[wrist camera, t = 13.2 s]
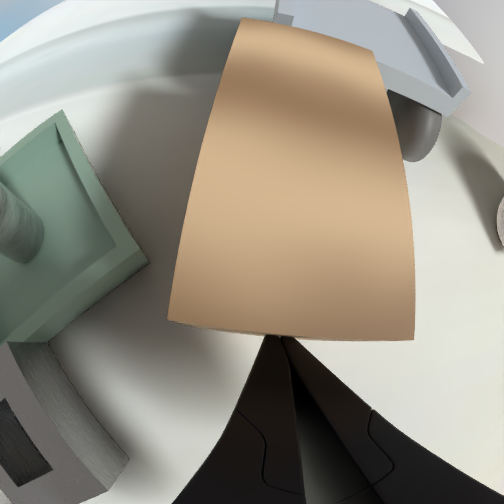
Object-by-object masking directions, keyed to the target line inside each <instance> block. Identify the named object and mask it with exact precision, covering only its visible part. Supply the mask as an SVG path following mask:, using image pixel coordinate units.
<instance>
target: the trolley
mask: <svg viewBox="0 0 504 504" xmlns="http://www.w3.org/2000/svg"><path fill="white" fill-rule="evenodd" d="M273 23H278V24H283V25H288V26H293V27H297V28H301V29H305V30H309V31H313V32H317V33H320V34H324V35H327V36H331V37H334V38H337V39H341V40H344V41H347V42H350V43H353V44H355V45H358V46H361V47H364V48H366V49H369V50H372V51H373V54H374V56H375V59H376V62H377V65H378V68H379V71H380V74H381V77H382V80H383V83H384V86H385V88H387V89H388V91H387V92H386V93H387V96H388V100H389V103H390V107H391V111H392V114H393V118H394V122H395V126H396V131H397V135H398V139H399V144H400V149H401V154H402V159H403V160H406V161H409V162H417V161H419V160H421V159H423V158H424V157H425V156H426V155H427V154H428V153H429V152H430V151H431V149H432V148H433V146H434V144H435V142H436V140H437V138H438V135H439V132H440V127H441V114H443V115H445V116H447V117H449V116H450V115H451V113H452V112H453V111H454V110H455V109H456V108H457V107H458V106H459V105H460V104H461V103H462V102H463V101H464V100H465V99H466V97H468V96H469V95H470V93H471V91H470V89H469V87H468V85H467V84H466V82H465V80H464V78H463V77H462V75H461V73H460V71H459V70H458V68H457V67H456V65H455V63H454V62H453V60H452V59H451V57H450V56H449V54H448V52H447V51H446V49H445V48H444V47H443V45H442V44H441V42H440V41H439V39H438V38H437V37H436V35H435V34H434V32H433V31H432V30H431V28H430V27H429V26H428V25H427V23H426V22H425V21H424V19H423V18H422V17H421V16H420V14H419V13H418V12H417V11H415V10H413V9H411V8H409V10H408V12H407V14H406V15H405V17H404V16H402V15H400V14H398V13H396V12H394V11H392V10H390V9H387V8H385V7H383V6H381V5H378V4H376V3H373V2H371V1H368V0H276V5H275V11H274V17H273Z"/></svg>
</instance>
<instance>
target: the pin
mask: <svg viewBox="0 0 504 504" xmlns="http://www.w3.org/2000/svg"><path fill="white" fill-rule="evenodd" d="M43 239H44V225H43V222H42V220H41V219H40V217H38V216H37V215H36V214H35V213H34V212H33V211H32V210H30V209H29V208H28V207H27V206H26V205H25V204H24V203H23V202H22V201H20V200H19V199H18V198H17V197H16V196H15V195H14V194H13V193H12V192H11V191H10V190H9V189H8V188H6V187H5V186H4V185H3V184H2V183H1V182H0V254H1V255H3V256H5V257H7V258H9V259H11V260H12V261H14V262H16V263H19V264H23V263H27V262H29V261H30V260H32V259H33V258H34V257H35V256H36V254H37V253H38V251H39V250H40V248H41V245H42V243H43Z"/></svg>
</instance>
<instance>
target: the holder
mask: <svg viewBox="0 0 504 504" xmlns="http://www.w3.org/2000/svg"><path fill="white" fill-rule="evenodd" d="M13 412H14V414H15V415H16V417H17V419H18V420H19V422H20V423H21V425H22V427H23V428H24V430H25V431H26V433H27V434H28V436H29V437H30V439H31V440H32V442H33V443H34V444H35V446H36V447H37V449H38V450H39V451H40V453H41V454H42V455H43V457H44V458H45V459H46V461H47V462H48V463H49V464H50V465H48V464H47V463H46V461H45V460H44V459H43V457H42V456H41V455H40V453H39V452H38V451H37V449H36V448H35V447H34V445H33V444H32V442H31V441H30V439H29V438H28V437H27V435H26V434H25V432H24V431H23V429H22V427H21V426H20V424H19V423H18V421H17V419H16V418H15V416H14V415H13ZM128 461H129V458H128V457H127V455H126V454H125V453H124V452H123V451H122V450H121V449H120V448H119V446H118V445H117V444H116V443H115V442H114V441H113V439H112V438H111V437H110V436H109V435H108V433H107V432H106V431H105V430H104V428H103V427H102V426H101V425H100V423H99V422H98V421H97V420H96V418H95V417H94V416H93V414H92V413H91V412H90V410H89V409H88V407H87V406H86V405H85V403H84V402H83V400H82V399H81V397H80V396H79V395H78V393H77V392H76V390H75V389H74V387H73V386H72V384H71V382H70V381H69V379H68V378H67V376H66V375H65V373H64V371H63V370H62V368H61V366H60V365H59V363H58V361H57V359H56V358H55V356H54V354H53V352H52V351H51V349H50V347H49V345H48V343H47V342H10V341H6V342H5V343H4V344H3V345H2V346H1V347H0V489H1V490H2V491H3V493H4V494H5V495H6V496H7V498H8V499H9V500H10V501H11V502H12V504H79V503H81V502H84V501H86V500H89V499H91V498H93V497H96V496H98V495H100V494H102V493H105V492H107V491H109V489H110V488H111V486H112V485H113V483H114V482H115V480H116V479H117V477H118V476H119V474H120V473H121V471H122V470H123V468H124V467H125V465H126V464H127V462H128Z"/></svg>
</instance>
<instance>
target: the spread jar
mask: <svg viewBox="0 0 504 504" xmlns="http://www.w3.org/2000/svg"><path fill="white" fill-rule="evenodd" d="M497 230H498V234H499V238H500V240H501V242H502V244H503V246H504V197H503V199H502V201H501V203H500V205H499V208H498V212H497Z"/></svg>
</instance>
